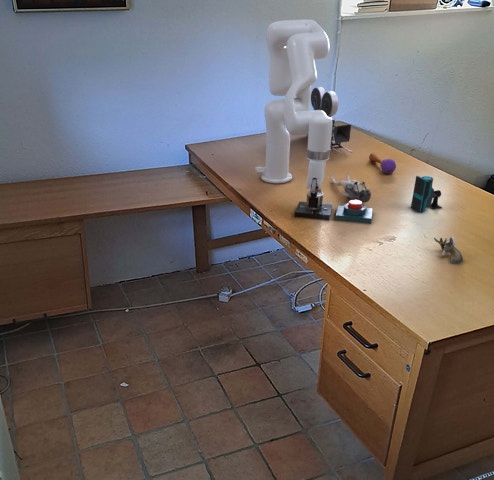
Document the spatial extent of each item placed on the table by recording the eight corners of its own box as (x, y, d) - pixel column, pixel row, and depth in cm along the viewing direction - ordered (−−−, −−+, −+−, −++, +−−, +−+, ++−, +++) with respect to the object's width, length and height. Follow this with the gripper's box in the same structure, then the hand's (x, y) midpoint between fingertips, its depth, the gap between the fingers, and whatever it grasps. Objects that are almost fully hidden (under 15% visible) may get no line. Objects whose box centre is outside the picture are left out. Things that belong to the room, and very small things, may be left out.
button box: (335, 220, 192) (336, 209, 190) (337, 210, 199) (338, 200, 197) (370, 224, 189) (372, 213, 187) (372, 213, 196) (373, 203, 194)
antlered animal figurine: (426, 248, 170) (443, 257, 161) (439, 228, 168) (457, 235, 160) (443, 259, 172) (461, 268, 164) (457, 239, 171) (475, 247, 162)
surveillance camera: (450, 176, 192) (425, 180, 189) (443, 208, 198) (419, 213, 195) (439, 171, 196) (415, 175, 194) (433, 203, 203) (409, 207, 200)
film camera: (295, 134, 282) (298, 86, 270) (316, 132, 285) (320, 84, 272) (333, 158, 249) (338, 103, 237) (356, 155, 252) (363, 101, 240)
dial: (320, 211, 194) (322, 196, 191) (304, 210, 195) (305, 194, 192) (323, 205, 198) (324, 190, 195) (307, 204, 200) (308, 189, 197)
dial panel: (294, 217, 195) (294, 211, 194) (298, 206, 203) (299, 200, 202) (329, 220, 192) (329, 214, 191) (332, 209, 200) (332, 203, 199)
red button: (347, 209, 191) (348, 203, 190) (348, 204, 195) (349, 199, 194) (361, 210, 190) (361, 205, 189) (361, 205, 193) (362, 200, 192)
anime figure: (351, 168, 223) (380, 185, 195) (350, 186, 226) (378, 206, 198) (328, 170, 222) (354, 187, 195) (327, 188, 225) (352, 207, 198)
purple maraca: (380, 150, 244) (400, 161, 226) (376, 164, 246) (396, 176, 229) (368, 149, 243) (386, 160, 225) (364, 162, 245) (382, 174, 227)
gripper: (310, 145, 195) (307, 194, 204) (303, 161, 181) (299, 212, 190) (332, 147, 193) (328, 196, 202) (326, 163, 179) (321, 214, 188)
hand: (314, 203), depth 196 cm, fingers closed on dial, 5 cm apart
